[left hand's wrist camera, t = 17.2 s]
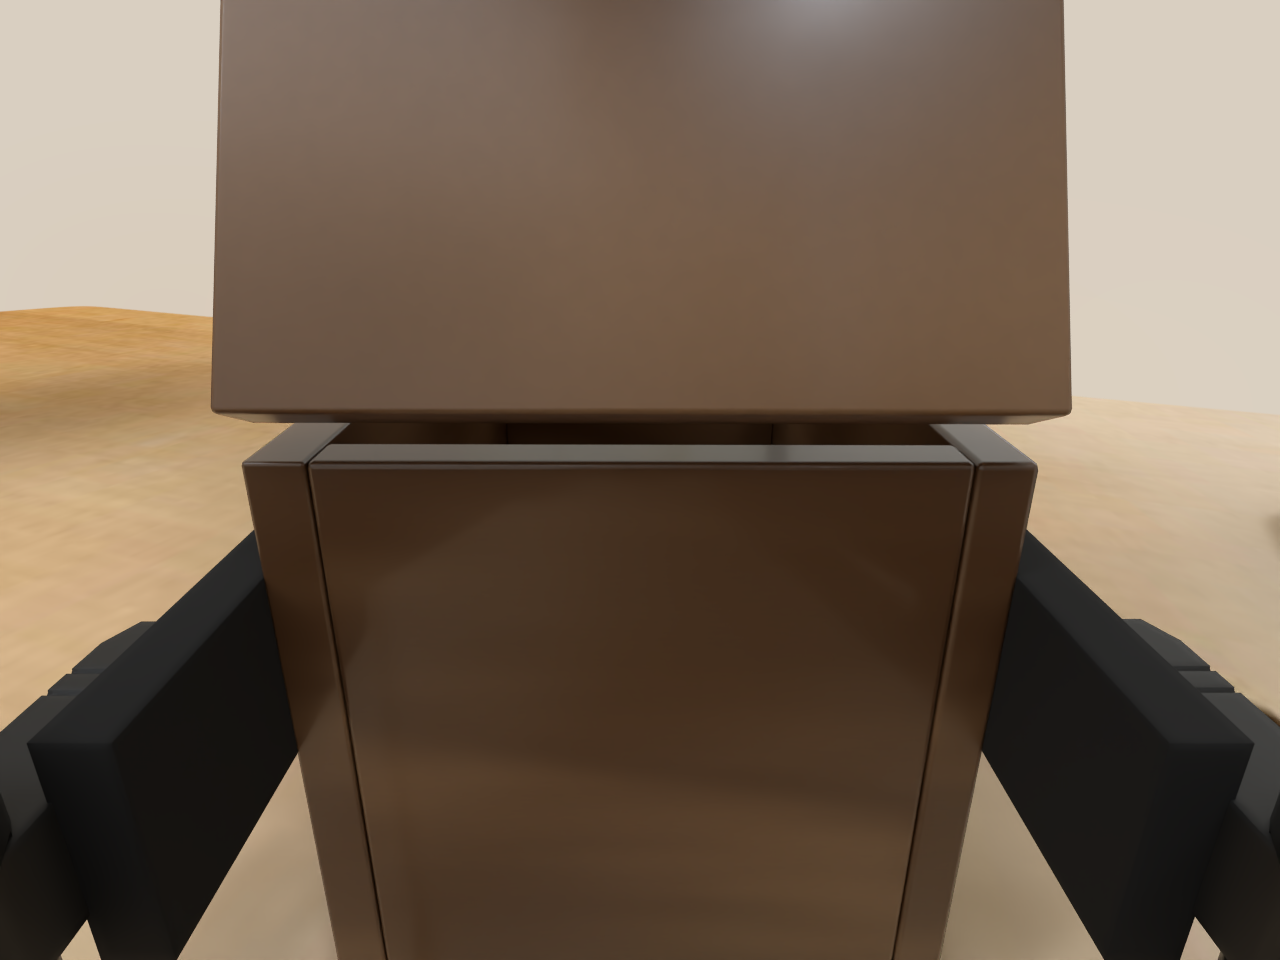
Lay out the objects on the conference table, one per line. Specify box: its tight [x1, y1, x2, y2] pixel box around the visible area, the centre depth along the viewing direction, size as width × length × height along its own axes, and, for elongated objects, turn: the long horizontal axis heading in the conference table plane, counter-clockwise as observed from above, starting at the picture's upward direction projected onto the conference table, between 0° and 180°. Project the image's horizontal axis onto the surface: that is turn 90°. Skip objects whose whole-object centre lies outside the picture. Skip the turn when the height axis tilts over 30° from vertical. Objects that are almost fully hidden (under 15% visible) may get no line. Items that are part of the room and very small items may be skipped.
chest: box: [242, 423, 1038, 960], centre depth 18 cm, size 14×9×10 cm, turn 0°
